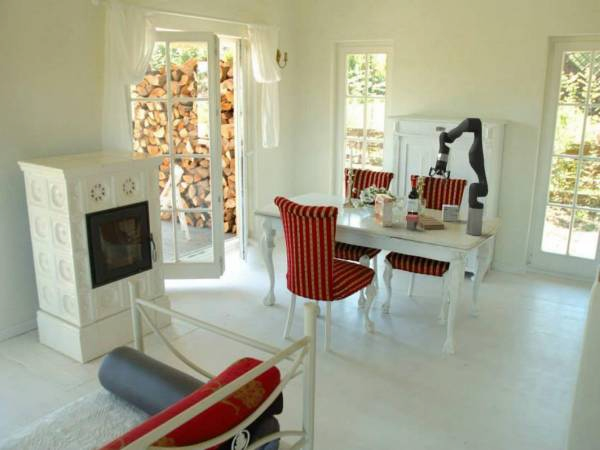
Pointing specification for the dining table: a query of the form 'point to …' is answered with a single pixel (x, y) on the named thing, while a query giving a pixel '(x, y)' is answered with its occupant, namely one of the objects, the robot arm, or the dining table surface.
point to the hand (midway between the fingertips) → (437, 183)
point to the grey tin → (411, 225)
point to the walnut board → (429, 223)
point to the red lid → (412, 217)
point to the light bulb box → (450, 213)
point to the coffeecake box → (383, 210)
